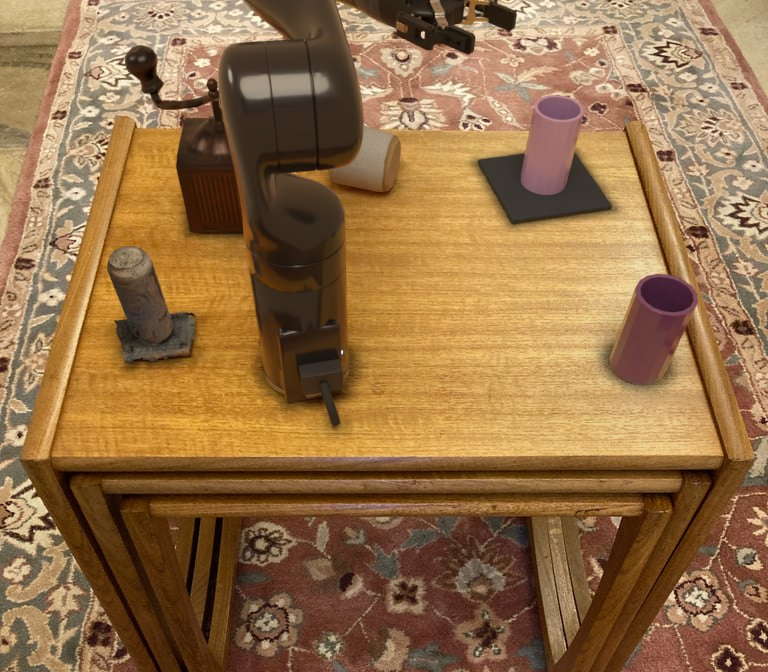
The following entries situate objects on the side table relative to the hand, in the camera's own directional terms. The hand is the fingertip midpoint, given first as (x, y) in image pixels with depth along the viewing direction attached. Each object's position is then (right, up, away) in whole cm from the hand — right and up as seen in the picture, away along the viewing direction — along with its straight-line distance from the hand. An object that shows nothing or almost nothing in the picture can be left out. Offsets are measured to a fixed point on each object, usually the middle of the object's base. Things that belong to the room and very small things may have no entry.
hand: (494, 33), depth 94 cm
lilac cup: (+8, -14, +9) cm, 19 cm away
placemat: (+8, -15, +9) cm, 19 cm away
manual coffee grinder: (-36, -20, +5) cm, 41 cm away
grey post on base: (-39, -40, -9) cm, 56 cm away
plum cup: (+15, -43, -9) cm, 46 cm away
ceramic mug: (-16, -14, +10) cm, 23 cm away
